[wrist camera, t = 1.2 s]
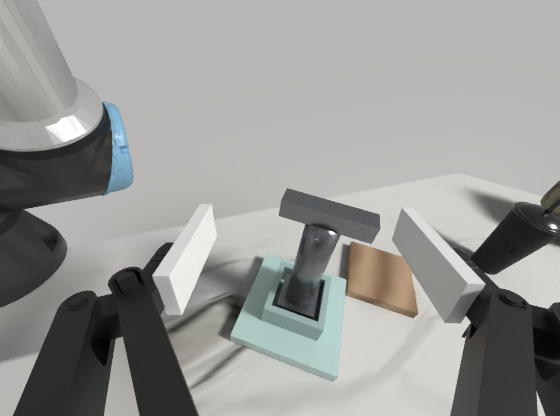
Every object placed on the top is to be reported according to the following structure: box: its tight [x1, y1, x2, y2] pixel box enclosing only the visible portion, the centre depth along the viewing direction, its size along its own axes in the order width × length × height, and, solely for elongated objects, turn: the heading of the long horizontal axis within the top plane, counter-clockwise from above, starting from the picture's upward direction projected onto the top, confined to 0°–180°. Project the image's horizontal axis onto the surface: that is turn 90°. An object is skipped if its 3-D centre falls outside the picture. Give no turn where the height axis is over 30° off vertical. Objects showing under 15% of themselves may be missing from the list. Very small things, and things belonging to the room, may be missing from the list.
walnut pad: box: [345, 242, 418, 318], centre depth 41 cm, size 11×11×2 cm
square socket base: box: [230, 254, 346, 381], centre depth 33 cm, size 14×14×6 cm
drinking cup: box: [471, 199, 560, 275], centre depth 41 cm, size 8×8×20 cm
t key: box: [276, 189, 380, 320], centre depth 27 cm, size 9×5×19 cm, turn 73°
